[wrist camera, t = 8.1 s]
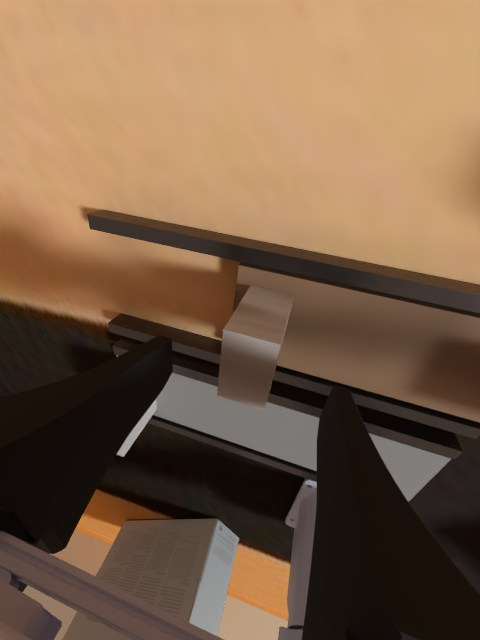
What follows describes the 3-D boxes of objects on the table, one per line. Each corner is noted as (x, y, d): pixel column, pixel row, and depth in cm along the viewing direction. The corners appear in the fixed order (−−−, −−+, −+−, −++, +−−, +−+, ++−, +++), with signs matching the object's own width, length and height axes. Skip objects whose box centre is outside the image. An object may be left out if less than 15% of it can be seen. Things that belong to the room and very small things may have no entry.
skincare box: (147, 536, 46) (73, 688, 33) (125, 518, 44) (38, 669, 31) (243, 540, 35) (191, 766, 22) (219, 517, 34) (147, 744, 21)
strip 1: (668, 462, 14) (826, 607, 10) (233, 342, 18) (200, 404, 14) (815, 382, 11) (1163, 545, 6) (243, 259, 15) (205, 303, 11)
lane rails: (398, 493, 22) (401, 511, 20) (134, 403, 26) (125, 414, 25) (571, 303, 12) (596, 319, 11) (104, 210, 16) (87, 214, 15)
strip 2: (404, 489, 21) (424, 580, 16) (132, 397, 25) (88, 450, 21) (445, 444, 18) (484, 544, 13) (124, 347, 22) (70, 397, 17)
